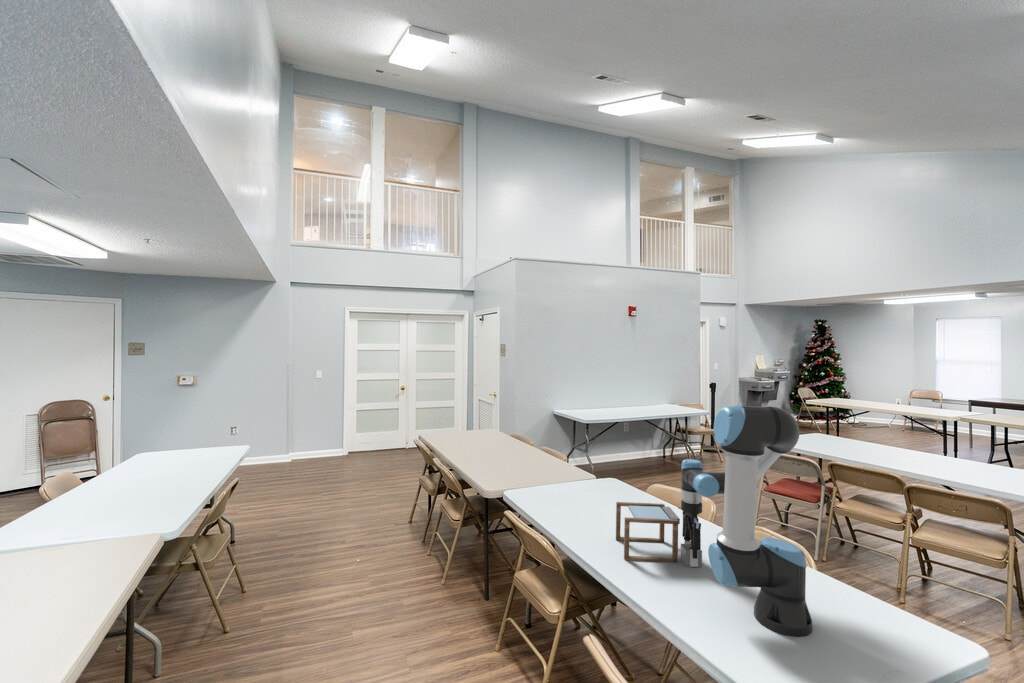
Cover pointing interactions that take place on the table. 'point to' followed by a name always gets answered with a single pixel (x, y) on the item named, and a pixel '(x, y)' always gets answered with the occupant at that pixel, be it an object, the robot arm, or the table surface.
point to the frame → (660, 539)
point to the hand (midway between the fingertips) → (690, 562)
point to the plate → (653, 512)
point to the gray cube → (686, 555)
